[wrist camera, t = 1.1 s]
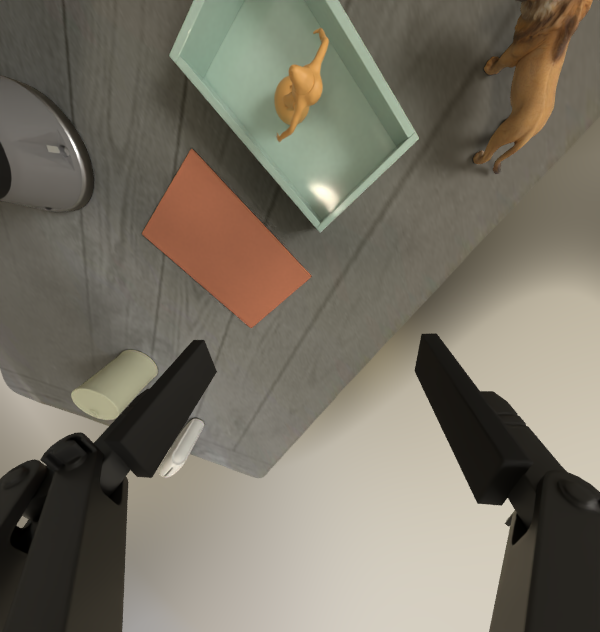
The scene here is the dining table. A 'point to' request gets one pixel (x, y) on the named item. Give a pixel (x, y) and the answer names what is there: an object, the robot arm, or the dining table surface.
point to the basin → (323, 117)
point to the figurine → (300, 89)
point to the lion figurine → (533, 70)
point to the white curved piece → (181, 448)
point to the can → (115, 385)
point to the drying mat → (223, 243)
